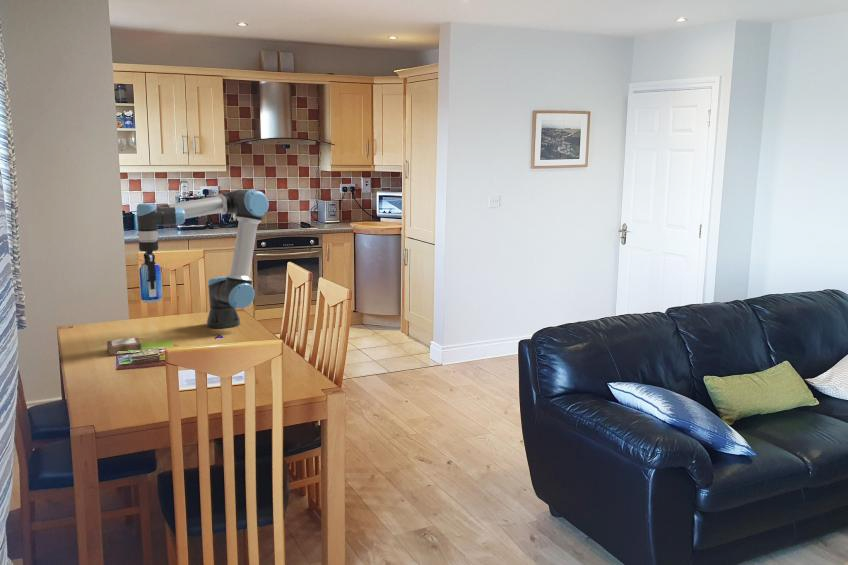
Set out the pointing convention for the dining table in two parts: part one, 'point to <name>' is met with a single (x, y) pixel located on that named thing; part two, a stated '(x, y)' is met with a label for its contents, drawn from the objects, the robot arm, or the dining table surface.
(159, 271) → the beer can
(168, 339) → the dining table surface
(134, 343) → the base slab
